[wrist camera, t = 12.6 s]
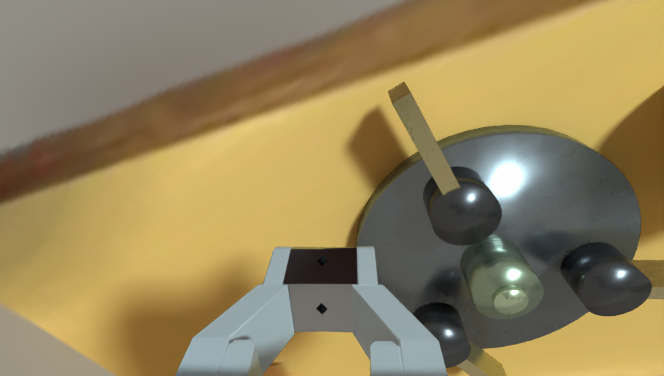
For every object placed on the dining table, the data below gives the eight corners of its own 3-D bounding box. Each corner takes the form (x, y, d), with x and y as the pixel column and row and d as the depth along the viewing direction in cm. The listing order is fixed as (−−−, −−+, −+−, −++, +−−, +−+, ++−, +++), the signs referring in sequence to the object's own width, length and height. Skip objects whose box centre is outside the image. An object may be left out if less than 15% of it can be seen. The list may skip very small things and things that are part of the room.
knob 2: (400, 319, 33) (405, 351, 30) (438, 294, 31) (447, 325, 28) (477, 374, 37) (488, 407, 34) (515, 354, 35) (530, 388, 32)
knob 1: (494, 202, 27) (511, 228, 24) (438, 227, 28) (448, 254, 25) (427, 66, 22) (439, 77, 19) (365, 104, 23) (366, 119, 20)
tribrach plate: (687, 206, 28) (773, 259, 23) (497, 358, 39) (523, 421, 33) (457, 68, 24) (490, 90, 18) (314, 280, 35) (306, 337, 29)
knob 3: (553, 284, 30) (576, 315, 27) (569, 242, 28) (594, 271, 25) (698, 285, 29) (737, 317, 26) (726, 242, 27) (772, 272, 24)
